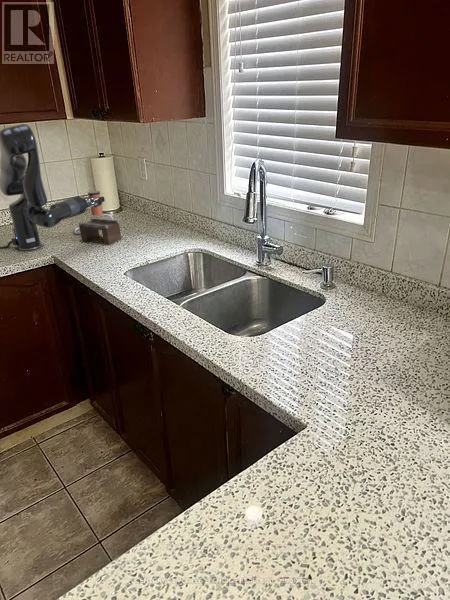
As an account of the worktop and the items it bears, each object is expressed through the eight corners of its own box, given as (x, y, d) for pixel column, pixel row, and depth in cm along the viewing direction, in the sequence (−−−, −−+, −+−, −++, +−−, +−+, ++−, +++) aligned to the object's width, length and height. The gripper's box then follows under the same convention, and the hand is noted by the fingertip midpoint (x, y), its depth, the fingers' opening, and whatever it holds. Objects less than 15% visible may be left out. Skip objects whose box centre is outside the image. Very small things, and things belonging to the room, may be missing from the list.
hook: (116, 228, 223) (77, 239, 218) (114, 223, 231) (75, 234, 226) (112, 214, 220) (71, 225, 215) (109, 209, 228) (70, 220, 223)
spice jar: (88, 215, 202) (84, 192, 198) (96, 212, 206) (93, 190, 202) (98, 215, 200) (94, 193, 195) (105, 213, 204) (102, 190, 200)
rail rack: (82, 241, 208) (78, 223, 204) (94, 235, 215) (91, 217, 212) (109, 244, 202) (106, 226, 198) (121, 238, 209) (118, 220, 205)
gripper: (83, 199, 184) (110, 190, 198) (57, 197, 190) (85, 189, 204) (87, 217, 187) (112, 207, 201) (61, 214, 193) (88, 205, 207)
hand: (98, 198), depth 202 cm, fingers closed on spice jar, 5 cm apart
